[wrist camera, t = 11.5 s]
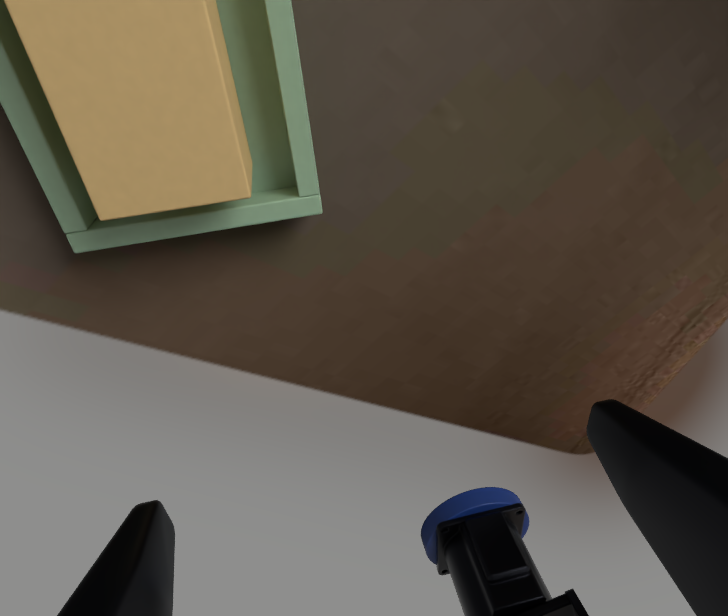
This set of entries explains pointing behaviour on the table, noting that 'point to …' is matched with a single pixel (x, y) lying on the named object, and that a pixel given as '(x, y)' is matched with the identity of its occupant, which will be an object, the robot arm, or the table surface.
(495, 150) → the table surface
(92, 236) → the tray
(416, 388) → the table surface
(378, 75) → the table surface
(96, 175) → the tan block
